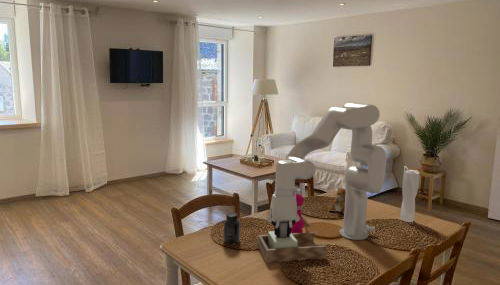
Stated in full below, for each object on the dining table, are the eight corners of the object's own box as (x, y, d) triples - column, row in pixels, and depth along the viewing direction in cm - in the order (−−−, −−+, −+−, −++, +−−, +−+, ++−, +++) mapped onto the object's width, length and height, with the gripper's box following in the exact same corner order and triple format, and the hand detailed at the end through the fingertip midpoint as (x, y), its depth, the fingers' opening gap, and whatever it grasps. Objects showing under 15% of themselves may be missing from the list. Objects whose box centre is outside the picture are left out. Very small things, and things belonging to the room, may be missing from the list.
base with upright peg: (288, 243, 156) (289, 216, 154) (297, 256, 145) (298, 226, 143) (267, 245, 154) (268, 217, 152) (274, 257, 143) (275, 228, 141)
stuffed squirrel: (326, 211, 199) (328, 187, 197) (339, 205, 210) (341, 183, 208) (343, 216, 193) (345, 192, 191) (356, 210, 203) (358, 186, 201)
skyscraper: (395, 220, 189) (400, 166, 184) (402, 217, 194) (407, 164, 189) (410, 225, 183) (416, 169, 179) (417, 221, 188) (423, 167, 184)
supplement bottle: (242, 241, 160) (243, 214, 158) (231, 246, 155) (232, 218, 153) (231, 236, 164) (232, 210, 162) (220, 241, 160) (220, 214, 158)
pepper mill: (303, 237, 165) (305, 194, 162) (286, 235, 167) (288, 192, 164) (304, 231, 172) (306, 189, 169) (288, 229, 174) (290, 188, 170)
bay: (312, 243, 160) (313, 232, 159) (325, 258, 146) (326, 246, 145) (258, 246, 155) (258, 235, 154) (266, 262, 141) (266, 250, 141)
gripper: (301, 188, 151) (299, 231, 154) (261, 189, 148) (260, 233, 151) (308, 194, 144) (305, 239, 147) (266, 195, 140) (264, 241, 143)
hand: (282, 235), depth 149 cm, fingers closed on base with upright peg, 3 cm apart
